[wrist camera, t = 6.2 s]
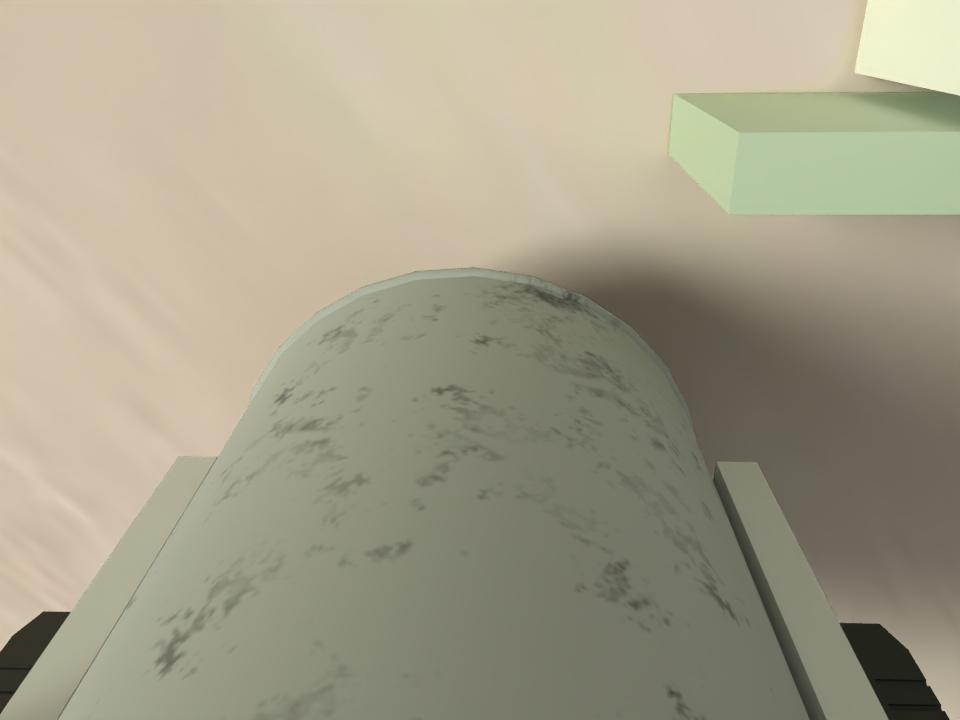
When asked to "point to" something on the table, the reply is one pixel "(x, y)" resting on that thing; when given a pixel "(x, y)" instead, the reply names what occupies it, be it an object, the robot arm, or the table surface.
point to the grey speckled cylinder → (451, 532)
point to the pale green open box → (822, 151)
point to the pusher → (912, 43)
